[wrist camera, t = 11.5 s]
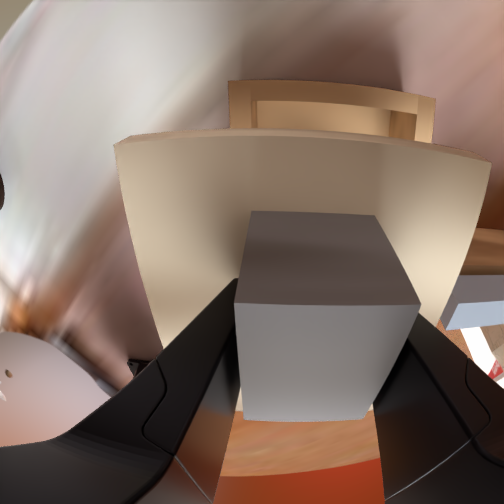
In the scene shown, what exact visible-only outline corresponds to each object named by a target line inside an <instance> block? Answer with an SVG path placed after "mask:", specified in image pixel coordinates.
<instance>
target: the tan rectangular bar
mask: <svg viewBox="0 0 504 504" xmlns="http://www.w3.org/2000/svg"><path fill="white" fill-rule="evenodd" d="M459 275H504V230H496V229H485V228H475V231H474V234H473V237H472V240H471V243H470V246H469V249H468V252H467V255H466V257H465V260H464V263H463V265H462V268H461V270H460V273H459Z"/></svg>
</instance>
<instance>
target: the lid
mask: <svg viewBox="0 0 504 504" xmlns="http://www.w3.org/2000/svg"><path fill="white" fill-rule="evenodd" d="M114 151H115V158H116V164H117V170H118V176H119V181H120V187H121V192H122V197H123V202H124V207H125V212H126V216H127V221H128V225H129V230H130V234H131V238H132V243H133V247H134V251H135V255H136V259H137V263H138V266H139V270H140V274H141V278H142V281H143V285H144V288H145V292H146V295H147V299H148V302H149V305H150V309H151V312H152V315H153V318H154V321H155V325H156V328H157V331H158V334H159V337H160V340H161V343H162V346H163V349H164V348H165V347H166V346H167V345H168V344H169V343H170V342H171V341H172V340H173V339H174V338H175V337H176V336H177V335H178V334H179V333H180V332H181V331H182V330H183V329H184V328H185V327H186V326H187V325H188V324H189V323H190V322H191V321H192V320H193V319H194V318H195V317H196V316H197V315H198V314H199V313H200V312H201V311H202V310H203V309H204V308H205V307H206V306H207V305H208V304H209V303H210V302H211V301H212V300H213V299H214V298H215V297H216V296H217V295H218V294H219V293H220V292H221V291H222V290H223V289H224V288H225V287H226V286H227V285H228V284H229V283H230V282H231V281H232V280H233V279H234V278H239V279H238V284H237V289H236V295H235V300H234V310H235V323H236V336H237V348H238V360H239V372H240V383H241V388H240V392H239V397H238V401H237V405H236V410H235V411H243V416H244V420H257V421H286V422H312V421H340V420H356V419H363V418H364V416H365V415H366V413H367V411H368V410H373V404H372V403H373V401H374V400H375V398H376V396H377V395H378V393H379V391H380V389H381V387H382V386H383V384H384V382H385V380H386V378H387V377H388V375H389V373H390V371H391V369H392V367H393V365H394V363H395V361H396V359H397V357H398V355H399V353H400V351H401V349H402V347H403V345H404V343H405V341H406V339H407V337H408V335H409V332H410V330H411V328H412V326H413V324H414V321H415V319H416V317H417V314H418V312H419V313H420V314H421V315H422V316H423V317H425V318H426V319H427V320H428V321H429V322H430V323H431V324H433V325H434V326H435V327H436V325H437V323H438V321H439V319H440V317H441V314H442V312H443V310H444V308H445V306H446V304H447V301H448V299H449V297H450V295H451V292H452V290H453V288H454V285H455V283H456V280H457V278H458V276H459V273H460V270H461V268H462V265H463V263H464V260H465V257H466V255H467V252H468V249H469V246H470V243H471V240H472V237H473V234H474V231H475V228H476V225H477V221H478V218H479V215H480V211H481V208H482V204H483V200H484V196H485V192H486V188H487V184H488V180H489V175H490V171H491V166H492V163H491V162H489V161H488V160H486V159H484V158H483V157H481V156H479V155H477V154H476V153H474V152H470V151H466V150H461V149H457V148H452V147H447V146H442V145H437V144H431V143H426V142H420V141H414V140H407V139H400V138H393V137H386V136H378V135H369V134H360V133H350V132H338V131H324V130H307V129H279V128H232V129H204V130H187V131H173V132H161V133H151V134H142V135H133V136H129V137H127V138H125V139H124V140H122V141H120V142H118V143H116V144H114Z"/></svg>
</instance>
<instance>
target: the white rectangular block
mask: <svg viewBox="0 0 504 504" xmlns="http://www.w3.org/2000/svg"><path fill="white" fill-rule="evenodd" d="M460 330H461V332H462V334H463V336H464V338H465V341H466V343H467V345H468V348H469V350H470V352H471V355H472V357H473V360H474V362H475V364H476V365H478V366H479V367H480V368H481V369H482V370H483V371H484V372H485V373H486V374H487V375H488V376H489V377H491V378H492V379H493V380H494V381H495V382H496V383H498V384H499V385H500V386H501V387H502V388H503V389H504V324H498V325H490V326H482V327H474V328H464V329H460Z"/></svg>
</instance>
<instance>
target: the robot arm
mask: <svg viewBox="0 0 504 504" xmlns="http://www.w3.org/2000/svg"><path fill="white" fill-rule="evenodd" d="M238 279H239V278H234V279H233V280H232V281H231V282H230V283H229V284H228V285H227V286H226V287H225V288H224V289H223V290H222V291H221V292H220V293H219V294H218V295H217V296H216V297H215V298H214V299H213V300H212V301H211V302H210V303H209V304H208V305H207V306H206V307H205V308H204V309H203V310H202V311H201V312H200V313H199V314H198V315H197V316H196V317H195V318H194V319H193V320H192V321H191V322H190V323H189V324H188V325H187V326H186V327H185V328H184V329H183V330H182V331H181V332H180V333H179V334H178V335H177V336H176V337H175V338H174V339H173V340H172V341H171V342H170V343H169V344H168V345H167V346H166V347H165V348H164V349H163V350H162V351H161V352H160V353H159V354H158V355H157V356H156V359H153V360H152V361H151V362H145V361H139V360H133V359H128V362H127V364H128V366H129V368H130V370H131V372H132V374H133V376H134V377H133V379H132V380H131V381H130V382H129V383H128V384H127V385H126V386H125V387H123V388H122V389H121V390H120V391H119V392H117V393H116V394H115V395H114V396H113V397H111V398H110V399H109V400H108V401H106V402H105V403H104V404H103V405H101V406H100V407H99V408H98V409H96V410H95V411H94V412H92V413H91V414H90V415H88V416H87V417H86V418H85V419H83V420H82V421H81V422H79V423H78V424H77V425H75V426H74V427H73V428H71V429H70V430H68V431H67V432H65V433H64V434H62V435H60V436H57V437H56V438H53V439H50V440H46V441H42V442H35V443H29V444H21V445H14V446H4V447H0V504H213V501H214V497H215V492H216V489H217V485H218V480H219V477H220V473H221V469H222V464H223V460H224V456H225V452H226V448H227V444H228V439H229V435H230V431H231V427H232V422H233V418H234V414H235V410H236V405H237V401H238V397H239V392H240V388H241V383H240V372H239V360H238V348H237V336H236V323H235V310H234V300H235V295H236V289H237V284H238ZM156 360H157V361H156ZM372 404H373V410H374V416H375V423H376V429H377V436H378V443H379V451H380V458H381V467H382V476H383V486H384V498H385V500H386V501H385V504H504V389H503V388H502V387H501V386H500V385H499V384H498V383H496V382H495V381H494V380H493V379H492V378H491V377H489V376H488V375H487V374H486V373H485V372H484V371H483V370H482V369H481V368H480V367H479V366H478V365H476V364H475V363H474V362H473V361H472V360H471V359H470V358H467V355H466V354H465V353H464V352H462V351H461V350H460V349H459V348H458V347H457V346H456V345H455V344H454V343H453V342H452V341H450V340H449V339H448V338H447V337H446V336H445V335H444V334H443V333H442V332H440V331H439V330H438V329H437V328H436V327H435V326H434V325H433V324H431V323H430V322H429V321H428V320H427V319H426V318H425V317H423V316H422V315H421V314H420V313H419V312H418V314H417V317H416V319H415V321H414V324H413V326H412V328H411V330H410V332H409V335H408V337H407V339H406V341H405V343H404V345H403V347H402V349H401V351H400V353H399V355H398V357H397V359H396V361H395V363H394V365H393V367H392V369H391V371H390V373H389V375H388V377H387V378H386V380H385V382H384V384H383V386H382V387H381V389H380V391H379V393H378V395H377V396H376V398H375V400H374V401H373V403H372Z"/></svg>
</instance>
